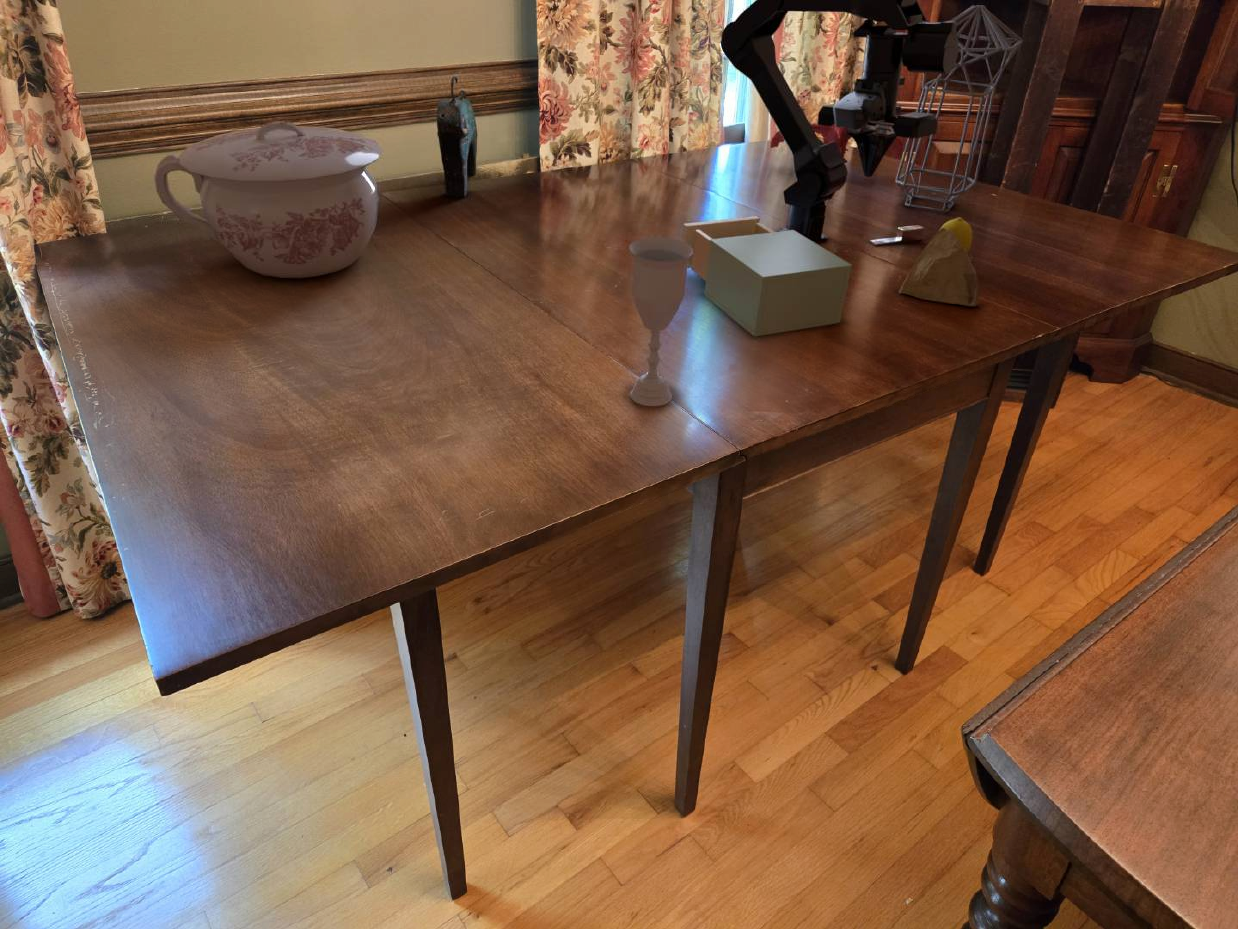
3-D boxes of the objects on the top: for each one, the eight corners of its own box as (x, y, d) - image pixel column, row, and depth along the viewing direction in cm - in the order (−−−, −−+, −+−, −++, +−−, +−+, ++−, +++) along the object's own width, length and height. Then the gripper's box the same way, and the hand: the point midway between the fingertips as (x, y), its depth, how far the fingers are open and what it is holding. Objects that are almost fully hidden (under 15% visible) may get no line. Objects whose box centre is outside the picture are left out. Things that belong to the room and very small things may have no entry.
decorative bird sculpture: (765, 179, 190) (771, 139, 175) (769, 143, 192) (776, 101, 177) (890, 190, 186) (907, 150, 172) (893, 153, 188) (911, 111, 174)
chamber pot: (430, 251, 133) (417, 115, 121) (312, 313, 113) (282, 157, 101) (296, 220, 142) (271, 91, 130) (163, 274, 122) (119, 126, 110)
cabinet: (704, 295, 123) (709, 239, 118) (784, 284, 128) (793, 229, 123) (754, 337, 112) (762, 277, 107) (840, 322, 117) (852, 264, 112)
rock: (1001, 289, 123) (952, 258, 129) (997, 253, 116) (945, 221, 123) (945, 337, 124) (899, 304, 130) (937, 303, 117) (889, 270, 123)
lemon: (966, 272, 135) (980, 224, 130) (931, 268, 135) (944, 220, 131) (961, 260, 139) (975, 213, 134) (928, 257, 140) (940, 210, 135)
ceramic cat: (468, 200, 155) (461, 85, 144) (434, 198, 155) (424, 83, 144) (484, 170, 171) (478, 65, 160) (453, 169, 171) (445, 64, 160)
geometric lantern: (978, 203, 166) (1034, 6, 146) (959, 223, 155) (1017, 13, 135) (901, 188, 173) (945, -3, 153) (877, 207, 162) (921, 3, 142)
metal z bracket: (915, 236, 148) (918, 224, 147) (921, 239, 147) (924, 227, 146) (869, 242, 145) (872, 229, 144) (876, 245, 143) (878, 233, 142)
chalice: (620, 380, 101) (626, 236, 90) (675, 379, 101) (687, 237, 91) (625, 411, 95) (632, 261, 84) (683, 411, 95) (698, 261, 85)
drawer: (666, 255, 133) (669, 213, 129) (736, 247, 138) (741, 206, 134) (720, 299, 120) (726, 254, 116) (796, 288, 124) (803, 244, 120)
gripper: (799, 71, 128) (791, 175, 136) (903, 81, 115) (887, 195, 123) (844, 64, 134) (834, 164, 142) (948, 73, 121) (929, 182, 129)
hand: (868, 176), depth 134 cm, fingers closed
